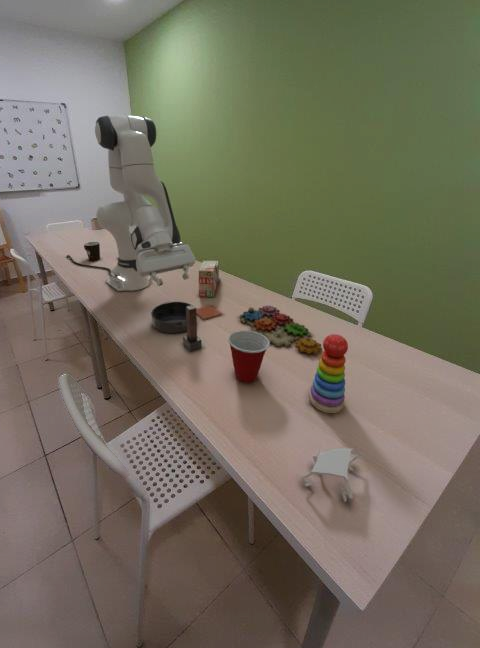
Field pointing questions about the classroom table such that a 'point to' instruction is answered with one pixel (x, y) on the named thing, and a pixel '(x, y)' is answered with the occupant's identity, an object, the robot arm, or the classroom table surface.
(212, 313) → the plate
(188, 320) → the brown post with base
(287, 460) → the classroom table surface
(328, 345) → the stacking toy
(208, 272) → the food box
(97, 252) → the coffee mug
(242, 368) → the plastic cup
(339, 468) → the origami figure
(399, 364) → the classroom table surface
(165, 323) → the pan
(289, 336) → the gear puzzle
